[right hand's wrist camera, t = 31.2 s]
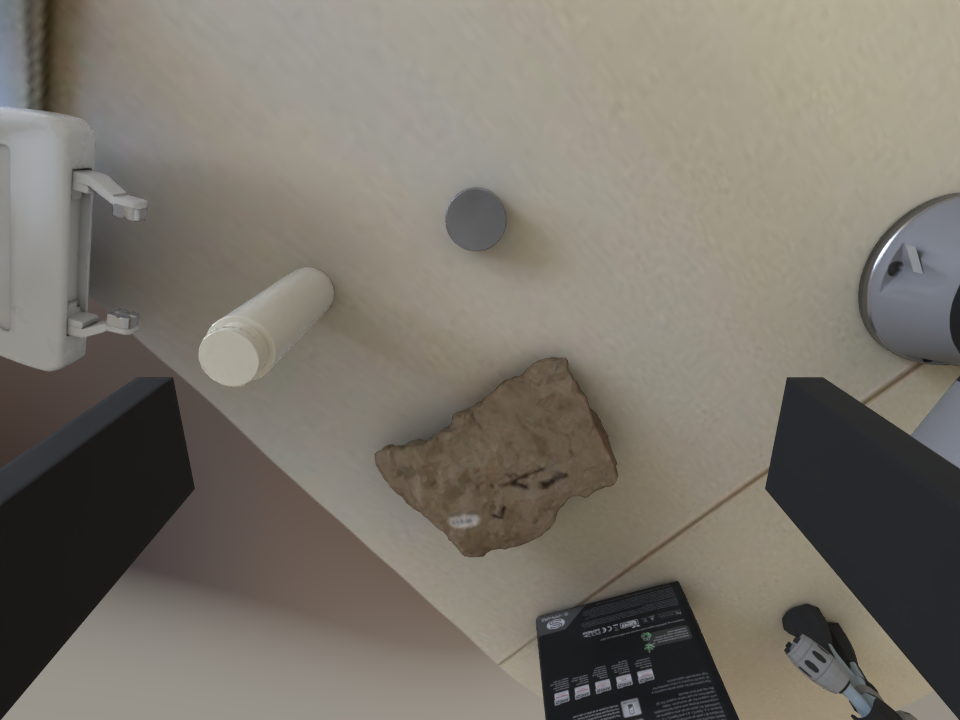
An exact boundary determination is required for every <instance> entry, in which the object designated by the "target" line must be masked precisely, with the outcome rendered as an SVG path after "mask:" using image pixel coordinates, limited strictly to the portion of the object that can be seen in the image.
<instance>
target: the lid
mask: <svg viewBox="0 0 960 720" xmlns="http://www.w3.org/2000/svg"><path fill="white" fill-rule="evenodd" d="M505 227H506V214H505V210H504V207H503V205H502V203H501V201H500V200H499V198H498V197H497V196H496V195H495V194H493V193H492V192H490V191H488V190H486V189H483V188H469V189H466V190H463V191H462V192H460V193H459V194H457V195H456V196H455V197H454V198H453V200H452V201H451V203H450V205H449V207H448V209H447V212H446V228H447V231H448V233H449V235H450V237H451V238H452V240H453V241H454V242H455V243H456V244H457V245H459V246H460V247H462V248H464V249H466V250H470V251H482V250H485V249H488V248H490V247H492V246H493V245H495V244H496V243H497V242H498V241H499V239H500V238H501V237H502V235H503V233H504V230H505Z"/></svg>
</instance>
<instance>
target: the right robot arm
mask: <svg viewBox="0 0 960 720" xmlns="http://www.w3.org/2000/svg"><path fill="white" fill-rule="evenodd" d="M859 309H860V313H861V317H862V320H863V323H864V325H865V327H866V329H867V330H868V332H869V333H870V335H871V336H872V337H873V338H874V339H875V341H877V342H878V343H879V344H880V345H881V346H883V347H884V348H886V349H887V350H889V351H891V352H893V353H895V354H897V355H899V356H901V357H903V358H906V359H908V360H911V361H915V362H919V363H924V364H932V365H955V366H960V193H953V194H949V195H944V196H941V197H938V198H935V199H933V200H930V201H928V202H925V203H924V204H922V205H920V206H918V207H916V208H914V209H913V210H911V211H910V212H908V213H907V214H905V215H904V216H903V217H901V218H900V219H899V220H898V221H897V222H896V223H894V224H893V225H892V226H891V227H890V228H889V229H888V230H887V232H886V233H885V234H884V235H883V236H882V237H881V239H880V240H879V241H878V243H877V244H876V246H875V247H874V249H873V251H872V252H871V254H870V256H869V258H868V260H867V262H866V264H865V267H864V269H863V273H862V276H861V280H860V285H859ZM194 489H195V487H194V482H193V477H192V472H191V467H190V462H189V457H188V452H187V447H186V442H185V436H184V431H183V426H182V421H181V416H180V411H179V406H178V401H177V396H176V390H175V385H174V380H173V378H172V377H137V378H136V379H134V380H133V381H131V382H130V383H128V384H127V385H125V386H124V387H122V388H121V389H119V390H118V391H116V392H115V393H113V394H112V395H110V396H109V397H107V398H106V399H104V400H103V401H101V402H99V403H98V404H97V405H95V406H94V407H92V408H91V409H89V410H87V411H86V412H85V413H83V414H81V415H80V416H79V417H77V418H76V419H74V420H73V421H71V422H70V423H68V424H66V425H65V426H63V427H62V428H60V429H59V430H57V431H56V432H54V433H53V434H51V435H50V436H48V437H47V438H45V439H44V440H43V441H41V442H40V443H38V444H36V445H35V446H33V447H32V448H31V449H29V450H28V451H26V452H24V453H23V454H21V455H20V456H18V457H17V458H16V459H14V460H12V461H11V462H9V463H8V464H6V465H5V466H3V467H2V468H0V720H1V719H2V718H3V717H4V715H5V714H6V713H7V712H8V711H9V709H10V708H11V707H12V706H13V705H14V703H15V702H16V701H17V700H18V699H19V698H20V696H21V695H22V694H23V693H24V692H25V690H26V689H27V688H28V687H29V686H30V684H31V683H32V682H33V681H34V680H35V678H36V677H37V676H38V675H39V674H40V672H41V671H42V670H43V669H44V668H45V666H46V665H47V664H48V663H49V662H50V661H51V659H52V658H53V657H54V656H55V655H56V653H57V652H58V651H59V650H60V649H61V647H62V646H63V645H64V644H65V643H66V642H67V640H68V639H69V638H70V637H71V636H72V634H73V633H74V632H75V631H76V630H77V628H78V627H79V626H80V625H81V624H82V622H83V621H84V620H85V619H86V618H87V616H88V615H89V614H90V613H91V612H92V610H93V609H94V608H95V607H96V606H97V605H98V603H99V602H100V601H101V600H102V599H103V597H104V596H105V595H106V594H107V593H108V591H109V590H110V589H111V588H112V587H113V585H114V584H115V583H116V582H117V581H118V580H119V578H120V577H121V576H122V575H123V574H124V572H125V571H126V570H127V569H128V568H129V566H130V565H131V564H132V563H133V562H134V560H135V559H136V558H137V557H138V556H139V555H140V553H141V552H142V551H143V550H144V549H145V547H146V546H147V545H148V544H149V543H150V542H151V540H152V539H153V538H154V537H155V536H156V534H157V533H158V532H159V531H160V530H161V528H162V527H163V526H164V525H165V524H166V522H167V521H168V520H169V519H170V518H171V516H172V515H173V514H174V513H175V512H176V511H177V509H178V508H179V507H180V506H181V505H182V503H183V502H184V501H185V500H186V499H187V497H188V496H189V495H190V494H191V493H192V491H193V490H194ZM765 489H766V490H767V491H768V493H769V494H770V495H771V496H772V497H773V499H774V500H775V501H776V502H777V503H778V505H779V506H780V507H781V508H782V509H783V511H784V512H785V513H786V514H787V515H788V516H789V518H790V519H791V520H792V521H793V522H794V524H795V525H796V526H797V527H798V528H799V530H800V531H801V532H802V533H803V534H804V536H805V537H806V538H807V539H808V540H809V542H810V543H811V544H812V545H813V546H814V547H815V549H816V550H817V551H818V552H819V553H820V555H821V556H822V557H823V558H824V559H825V561H826V562H827V563H828V564H829V565H830V567H831V568H832V569H833V570H834V571H835V572H836V574H837V575H838V576H839V577H840V578H841V580H842V581H843V582H844V583H845V584H846V586H847V587H848V588H849V589H850V590H851V592H852V593H853V594H854V595H855V596H856V597H857V599H858V600H859V601H860V602H861V603H862V605H863V606H864V607H865V608H866V609H867V611H868V612H869V613H870V614H871V615H872V617H873V618H874V619H875V620H876V621H877V622H878V624H879V625H880V626H881V627H882V628H883V630H884V631H885V632H886V633H887V634H888V636H889V637H890V638H891V639H892V640H893V642H894V643H895V644H896V645H897V646H898V648H899V649H900V650H901V651H902V652H903V653H904V655H905V656H906V657H907V658H908V659H909V661H910V662H911V663H912V664H913V665H914V667H915V668H916V669H917V670H918V671H919V673H920V674H921V675H922V676H923V677H924V678H925V680H926V681H927V682H928V683H929V684H930V686H931V687H932V688H933V689H934V690H935V692H936V693H937V694H938V695H939V696H940V698H941V699H942V700H943V701H944V702H945V703H946V705H947V706H948V707H949V708H950V709H951V711H952V712H953V713H954V714H955V715H956V717H957V718H958V719H959V720H960V376H959V377H958V379H956V381H955V382H954V383H953V384H952V386H951V387H950V388H949V389H948V390H947V392H946V393H945V394H944V395H943V397H942V398H941V399H940V400H939V402H938V403H937V404H936V405H935V406H934V408H933V409H932V410H931V411H930V413H929V414H928V415H927V416H926V417H925V419H924V420H923V421H922V422H921V424H920V425H919V426H918V427H917V429H916V430H915V431H914V432H913V433H912V435H911V436H910V435H909V434H907V433H906V432H904V431H903V430H901V429H900V428H898V427H897V426H895V425H894V424H892V423H891V422H889V421H888V420H886V419H885V418H883V417H882V416H880V415H879V414H877V413H876V412H874V411H873V410H871V409H870V408H868V407H867V406H865V405H864V404H862V403H861V402H859V401H857V400H856V399H854V398H853V397H851V396H850V395H848V394H847V393H845V392H844V391H842V390H841V389H839V388H838V387H836V386H835V385H833V384H832V383H830V382H829V381H827V380H826V379H824V378H823V377H787V380H786V385H785V390H784V396H783V401H782V406H781V411H780V416H779V421H778V426H777V431H776V436H775V441H774V447H773V452H772V457H771V462H770V467H769V472H768V477H767V482H766V487H765Z"/></svg>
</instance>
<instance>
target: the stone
mask: <svg viewBox="0 0 960 720" xmlns="http://www.w3.org/2000/svg"><path fill="white" fill-rule="evenodd" d="M375 461H376V465H377V467H378V469H379V471H380V472H381V474H382V476H383V478H384V479H385V480H386V481H387V482H388V484H389V485H390V487H391V488H392V489H393V490H394V491H395V492H396V493H397V494H399V495H400V496H402V497H403V498H404V500H405V501H406V503H407V504H409V505H410V506H411V507H412V508H413V509H416V510H417V511H419V512H421V513H422V514H423V515H424V516H425V517H426V518H428V519H429V520H430V521H431V522H432V523H433V524H434V525H435V526H436V527H437V528H438V529H440V530H442V531H443V532H444V533H445V534H446V535H447V536H448V539H449V540H450V541H452V543H453V544H454V545H455V546H456V547H457V548H458V550H459V551H460V552H461V554H463V555H464V556H467V557H483V556H484V555H485V554H486V553H487V552H489V551H491V550H494V549H507V548H509V547H516V546H519V545H522V544H525V543H527V542H530V541H532V540H534V539H536V538H538V537H540V536H542V534H543V533H544V532H546V531H547V530H548V529H550V527H551V526H552V525H553V523H554V521H555V518H556V515H557V512H558V510H559V509H560V508H561V507H562V506H563V505H564V504H565V502H566V501H567V499H569V498H570V497H571V496H582V497H584V498H585V497H588V496H590V495H591V494H592V493H593V492H595V491H597V490H599V489H602V488H604V487H609V486H612V485H614V483H615V482H616V480H617V477H618V473H617V469H616V464H617V462H616V459H615V457H614V455H613V452H612V450H611V447H610V443H609V440H608V435H607V434H606V432H605V430H604V428H603V426H602V424H601V421H600V419H599V418H598V416H597V414H596V413H595V412H594V411H593V410H592V409H590V408H589V404H588V400H587V396H586V395H585V394H584V393H583V392H582V391H581V389H580V387H579V385H578V383H577V382H576V381H575V380H574V378H573V376H572V374H571V373H570V371H569V370H568V360H567V359H566V358H556V357H552V358H550V359H543V360H540V361H537V362H536V363H534V364H533V365H532V366H530V367H529V368H527V370H526V371H525V372H524V373H523V375H522V376H515V377H513V378H511V379H508V380H505V381H504V382H502V383H501V384H500V385H499V386H498V387H497V388H496V390H495V391H494V392H492V393H491V394H489V395H488V396H487V397H486V398H485V399H484V400H483V401H482V402H478V403H477V404H476V405H475V406H474V407H472V408H468V409H466V410H463V411H460V412H457V413H456V414H454V415H453V420H452V423H451V424H450V426H449V427H445V428H444V429H443V430H442V431H440V432H439V433H437V434H434V435H433V436H432V437H431V438H430V439H429V440H421V439H417V440H413V441H410V442H408V443H407V444H405V445H402V446H400V445H398V446H394V445H393V444H390V445H387V446H385V447H384V448H383V449H381V450H380V451H378V452H376V453H375Z"/></svg>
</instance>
